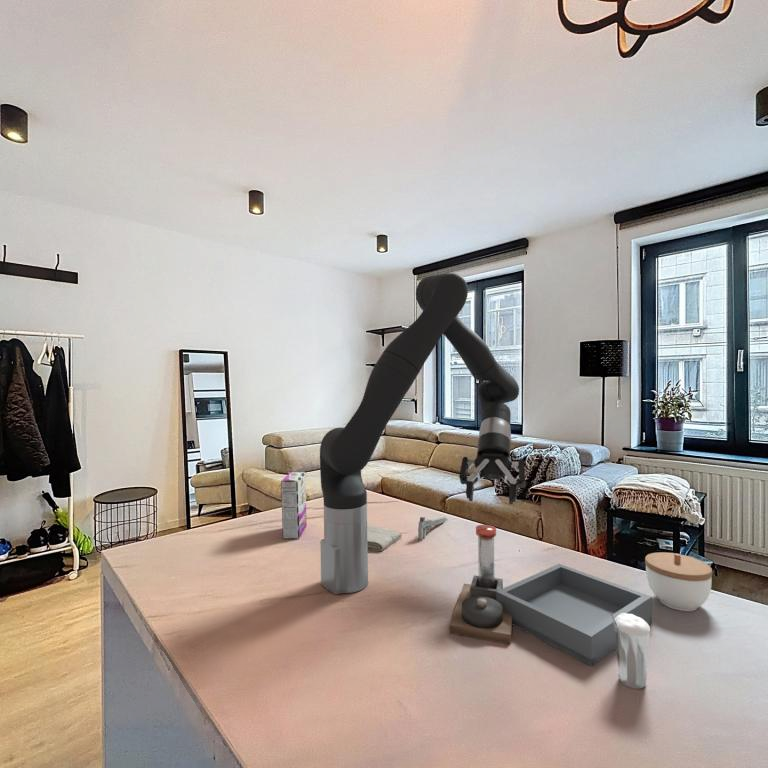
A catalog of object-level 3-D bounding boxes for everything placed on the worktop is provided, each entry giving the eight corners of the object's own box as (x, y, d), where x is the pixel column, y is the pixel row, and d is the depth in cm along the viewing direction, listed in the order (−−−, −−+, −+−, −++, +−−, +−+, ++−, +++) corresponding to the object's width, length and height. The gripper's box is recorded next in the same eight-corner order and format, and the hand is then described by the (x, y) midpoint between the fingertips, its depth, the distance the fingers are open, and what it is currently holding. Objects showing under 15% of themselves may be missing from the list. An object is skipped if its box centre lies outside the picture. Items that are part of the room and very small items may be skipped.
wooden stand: (510, 643, 72) (510, 616, 72) (449, 633, 76) (449, 607, 76) (514, 597, 88) (514, 575, 88) (464, 590, 91) (463, 569, 91)
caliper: (421, 542, 119) (421, 519, 119) (418, 541, 120) (417, 518, 120) (447, 520, 137) (447, 500, 137) (444, 520, 138) (444, 499, 138)
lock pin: (487, 603, 83) (486, 532, 83) (472, 595, 86) (471, 527, 86) (501, 597, 85) (500, 528, 85) (485, 589, 88) (484, 523, 88)
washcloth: (349, 529, 131) (349, 519, 131) (403, 539, 122) (403, 528, 122) (325, 542, 121) (325, 531, 121) (382, 554, 112) (382, 542, 112)
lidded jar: (701, 594, 88) (700, 547, 88) (722, 622, 78) (721, 569, 78) (640, 586, 92) (639, 541, 92) (652, 612, 81) (652, 562, 81)
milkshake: (602, 672, 65) (601, 604, 65) (636, 670, 66) (636, 602, 65) (621, 694, 61) (620, 621, 61) (658, 691, 61) (657, 619, 61)
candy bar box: (290, 526, 133) (289, 471, 133) (307, 526, 133) (306, 471, 133) (281, 539, 122) (280, 480, 122) (299, 539, 122) (298, 480, 122)
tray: (591, 666, 67) (591, 636, 66) (496, 616, 81) (496, 591, 81) (651, 622, 78) (651, 596, 78) (559, 585, 93) (559, 563, 93)
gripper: (462, 430, 106) (455, 489, 95) (525, 431, 101) (524, 494, 91) (466, 449, 111) (459, 507, 100) (526, 451, 106) (525, 512, 96)
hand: (490, 501), depth 95 cm, fingers open, 8 cm apart
